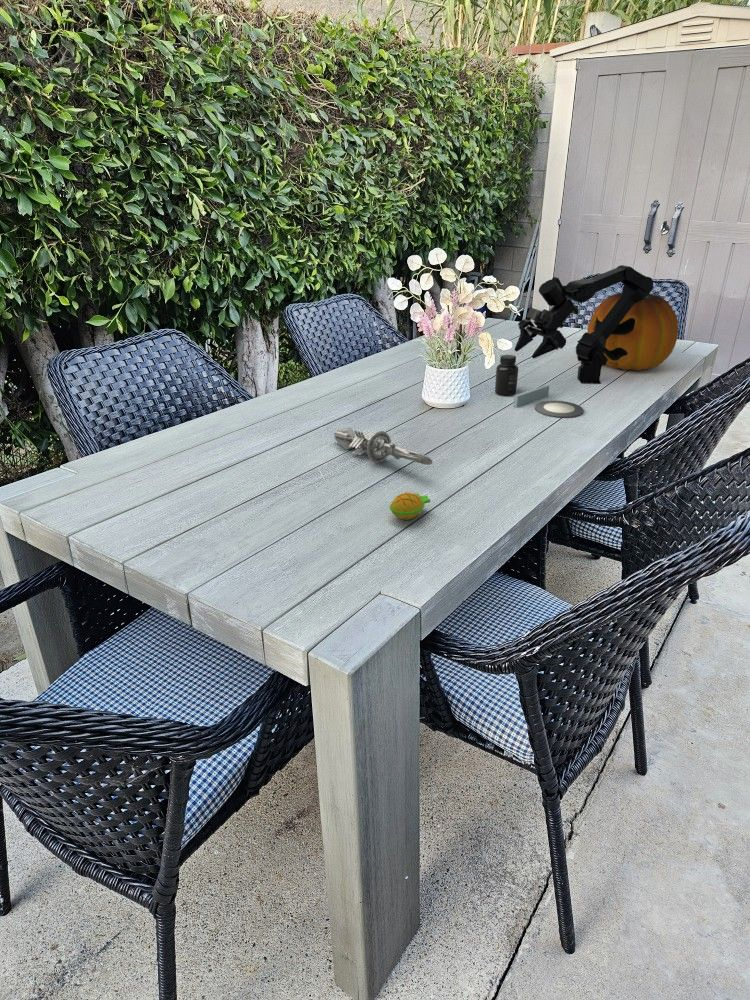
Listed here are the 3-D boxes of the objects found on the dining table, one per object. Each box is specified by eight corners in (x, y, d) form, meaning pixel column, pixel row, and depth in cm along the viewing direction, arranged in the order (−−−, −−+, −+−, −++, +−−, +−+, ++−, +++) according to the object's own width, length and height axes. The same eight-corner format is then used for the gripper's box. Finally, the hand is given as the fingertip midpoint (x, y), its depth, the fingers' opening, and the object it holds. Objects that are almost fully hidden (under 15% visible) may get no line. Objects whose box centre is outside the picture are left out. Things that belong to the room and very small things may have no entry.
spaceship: (416, 458, 151) (438, 437, 154) (318, 431, 175) (339, 413, 178) (426, 485, 155) (447, 464, 159) (330, 455, 180) (350, 437, 183)
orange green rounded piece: (382, 519, 142) (382, 496, 139) (408, 502, 149) (409, 480, 147) (410, 529, 138) (411, 505, 136) (435, 510, 146) (436, 488, 143)
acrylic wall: (544, 395, 216) (546, 384, 214) (548, 396, 215) (549, 385, 213) (513, 406, 206) (514, 395, 205) (516, 407, 206) (517, 396, 204)
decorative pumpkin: (566, 359, 254) (577, 276, 241) (627, 351, 265) (641, 271, 252) (623, 381, 230) (639, 289, 216) (688, 371, 241) (707, 283, 228)
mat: (577, 402, 210) (577, 400, 209) (588, 418, 197) (588, 416, 197) (531, 401, 210) (531, 399, 210) (539, 417, 198) (539, 415, 197)
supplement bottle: (515, 390, 220) (518, 354, 215) (517, 397, 214) (520, 359, 209) (493, 389, 221) (496, 353, 216) (494, 396, 215) (498, 359, 209)
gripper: (526, 293, 216) (493, 331, 217) (563, 303, 201) (528, 344, 202) (543, 316, 223) (511, 353, 224) (581, 328, 208) (546, 367, 208)
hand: (523, 354), depth 214 cm, fingers open, 9 cm apart
